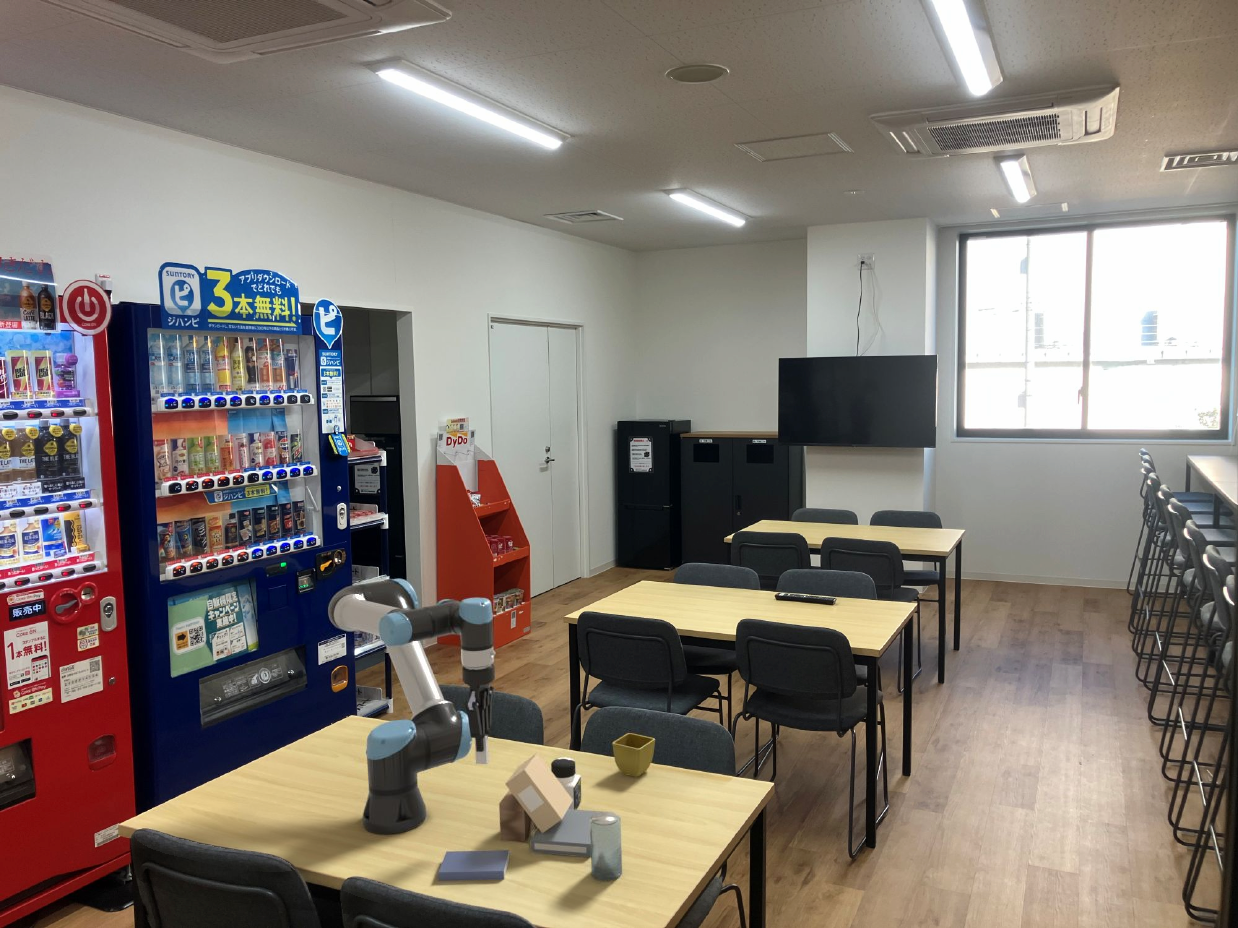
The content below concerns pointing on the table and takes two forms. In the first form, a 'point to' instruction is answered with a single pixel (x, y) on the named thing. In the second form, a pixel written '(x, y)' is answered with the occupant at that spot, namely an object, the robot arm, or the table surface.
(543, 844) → the podium
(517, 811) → the rest block
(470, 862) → the notebook
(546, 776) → the carton
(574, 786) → the medicine bottle
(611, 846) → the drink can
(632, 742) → the flower pot
